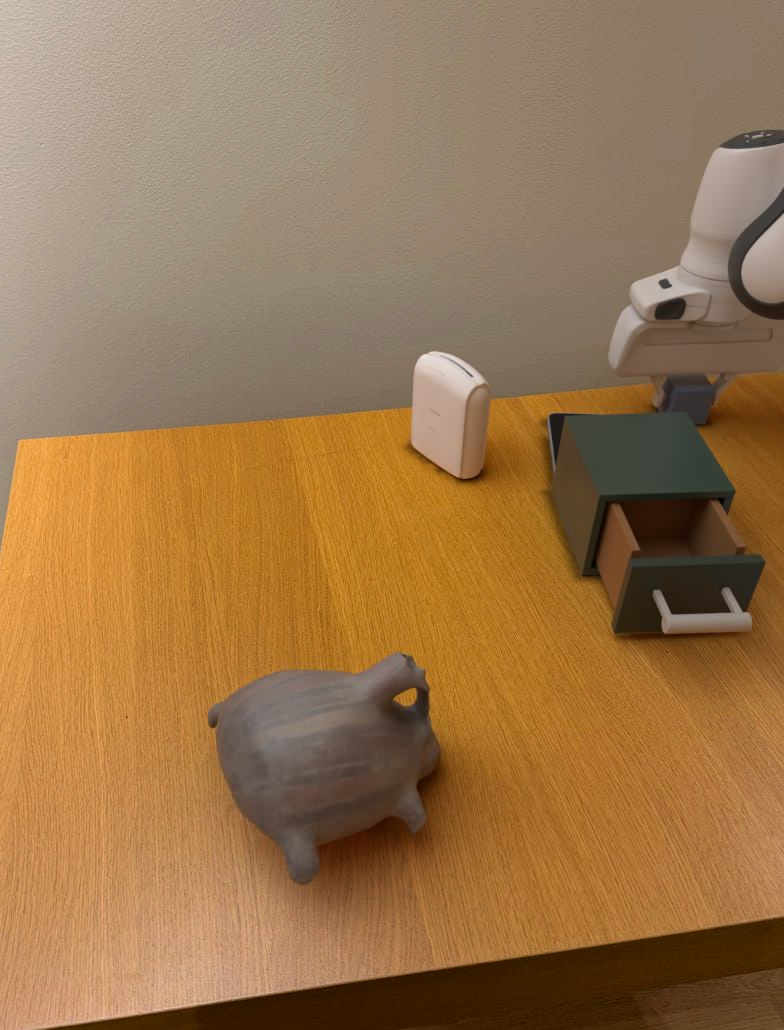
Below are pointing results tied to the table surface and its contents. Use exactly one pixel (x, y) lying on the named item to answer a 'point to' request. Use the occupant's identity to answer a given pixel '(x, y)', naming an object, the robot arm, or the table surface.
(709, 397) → the block
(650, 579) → the drawer
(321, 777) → the piggy bank
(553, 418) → the smartphone
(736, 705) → the table surface
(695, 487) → the cabinet
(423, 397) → the photo printer
